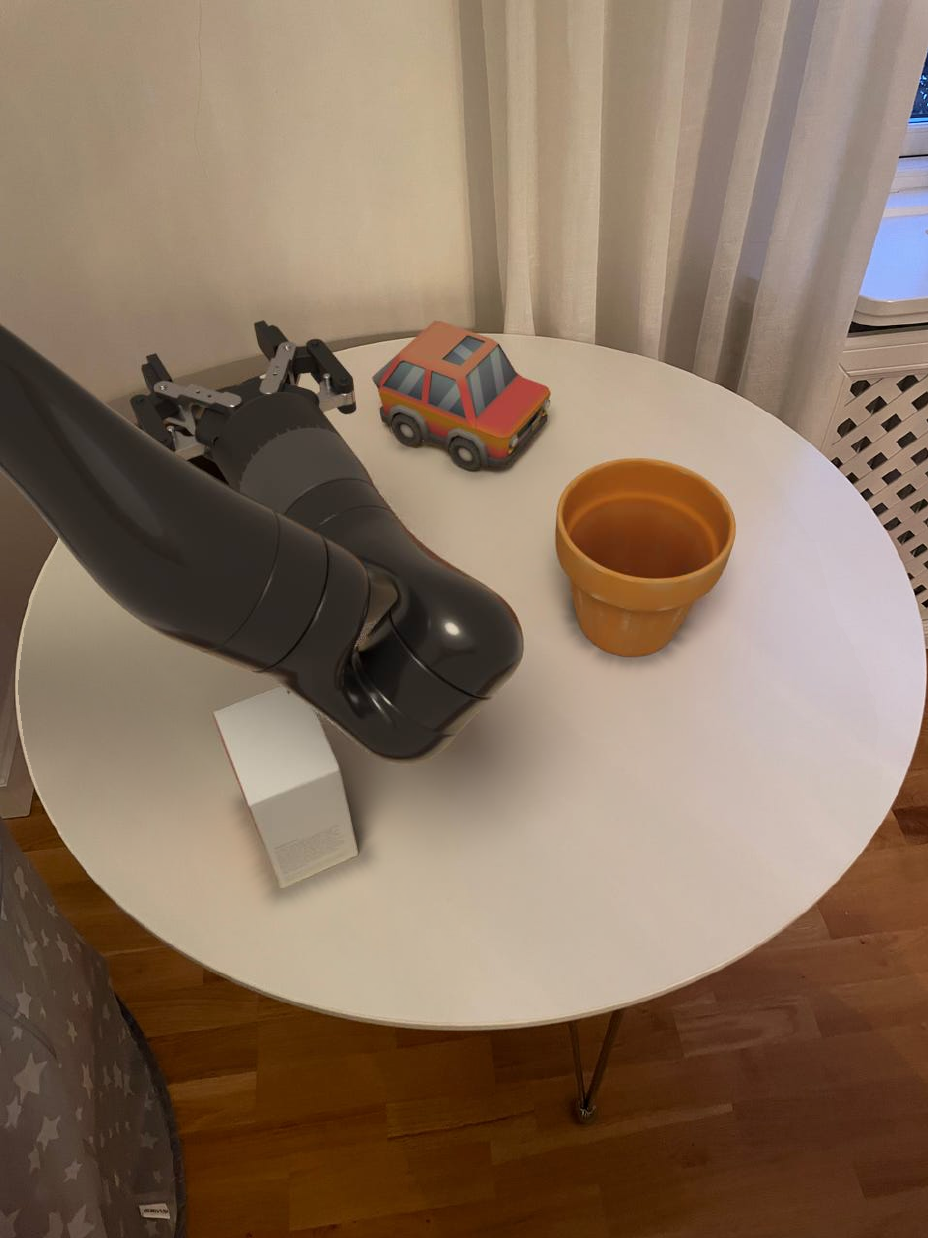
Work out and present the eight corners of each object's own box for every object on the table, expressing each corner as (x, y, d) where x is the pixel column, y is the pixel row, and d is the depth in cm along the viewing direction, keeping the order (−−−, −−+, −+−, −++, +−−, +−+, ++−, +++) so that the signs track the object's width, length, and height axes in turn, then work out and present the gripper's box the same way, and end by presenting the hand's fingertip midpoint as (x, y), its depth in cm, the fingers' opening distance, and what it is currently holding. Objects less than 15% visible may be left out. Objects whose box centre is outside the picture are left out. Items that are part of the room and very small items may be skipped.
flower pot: (521, 648, 82) (528, 545, 72) (580, 543, 90) (594, 438, 80) (675, 706, 78) (706, 606, 68) (723, 591, 86) (756, 487, 76)
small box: (245, 803, 73) (209, 709, 62) (322, 771, 74) (299, 675, 64) (279, 893, 68) (247, 807, 58) (360, 857, 70) (342, 767, 60)
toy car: (502, 486, 96) (506, 407, 88) (368, 431, 101) (360, 352, 94) (556, 425, 102) (563, 346, 94) (427, 376, 107) (423, 298, 100)
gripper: (399, 395, 57) (292, 272, 66) (172, 475, 52) (91, 331, 61) (406, 487, 63) (306, 362, 72) (202, 567, 58) (124, 422, 67)
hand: (207, 348), depth 67 cm, fingers open, 7 cm apart
